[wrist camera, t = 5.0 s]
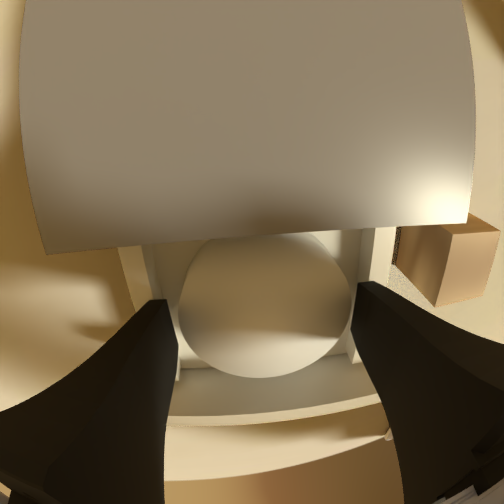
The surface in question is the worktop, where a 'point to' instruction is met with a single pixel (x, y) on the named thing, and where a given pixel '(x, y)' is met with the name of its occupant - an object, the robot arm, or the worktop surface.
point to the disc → (263, 303)
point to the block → (448, 259)
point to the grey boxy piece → (243, 118)
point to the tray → (272, 388)
